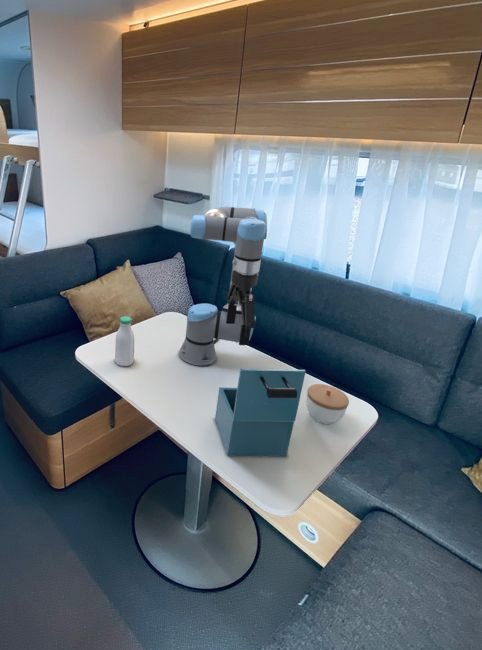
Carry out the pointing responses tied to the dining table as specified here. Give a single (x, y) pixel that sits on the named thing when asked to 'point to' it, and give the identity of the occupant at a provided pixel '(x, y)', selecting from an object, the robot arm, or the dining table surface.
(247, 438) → the box
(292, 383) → the freezer lid
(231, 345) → the dining table surface
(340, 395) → the lidded bowl
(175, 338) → the dining table surface
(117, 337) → the milk bottle
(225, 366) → the dining table surface
